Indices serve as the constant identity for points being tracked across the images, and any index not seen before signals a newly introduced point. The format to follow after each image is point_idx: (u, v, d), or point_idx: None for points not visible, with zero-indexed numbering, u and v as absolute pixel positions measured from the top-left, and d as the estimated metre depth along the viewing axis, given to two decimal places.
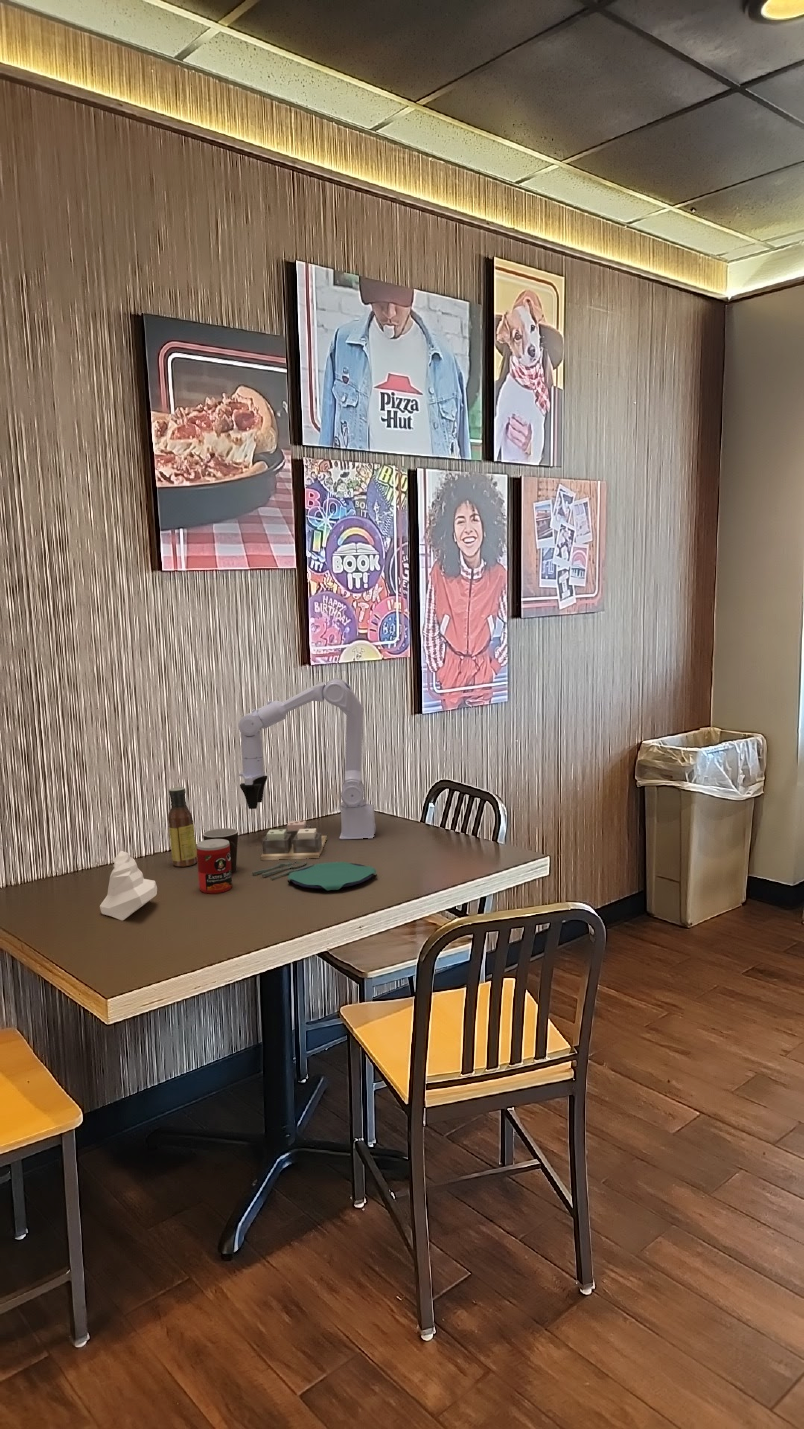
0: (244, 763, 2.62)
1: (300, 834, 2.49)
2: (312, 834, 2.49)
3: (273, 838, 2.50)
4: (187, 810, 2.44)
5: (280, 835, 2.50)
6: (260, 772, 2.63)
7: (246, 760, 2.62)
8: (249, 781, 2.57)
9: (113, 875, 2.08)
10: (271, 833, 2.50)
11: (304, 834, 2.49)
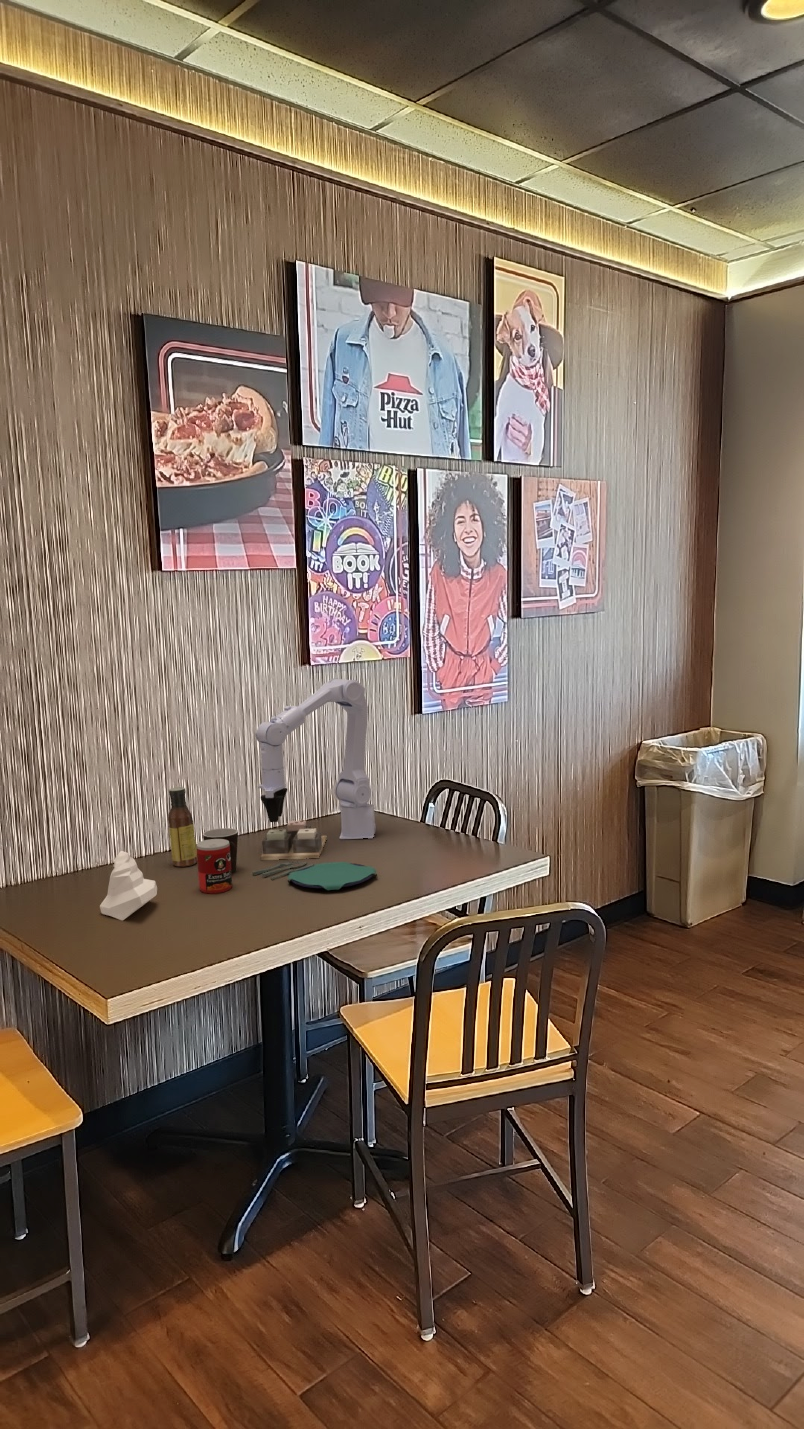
0: (264, 774, 2.48)
1: (300, 834, 2.49)
2: (312, 834, 2.49)
3: (273, 838, 2.50)
4: (187, 810, 2.44)
5: (280, 835, 2.50)
6: (281, 784, 2.48)
7: (266, 771, 2.47)
8: (270, 794, 2.43)
9: (113, 875, 2.08)
10: (271, 833, 2.50)
11: (304, 834, 2.49)
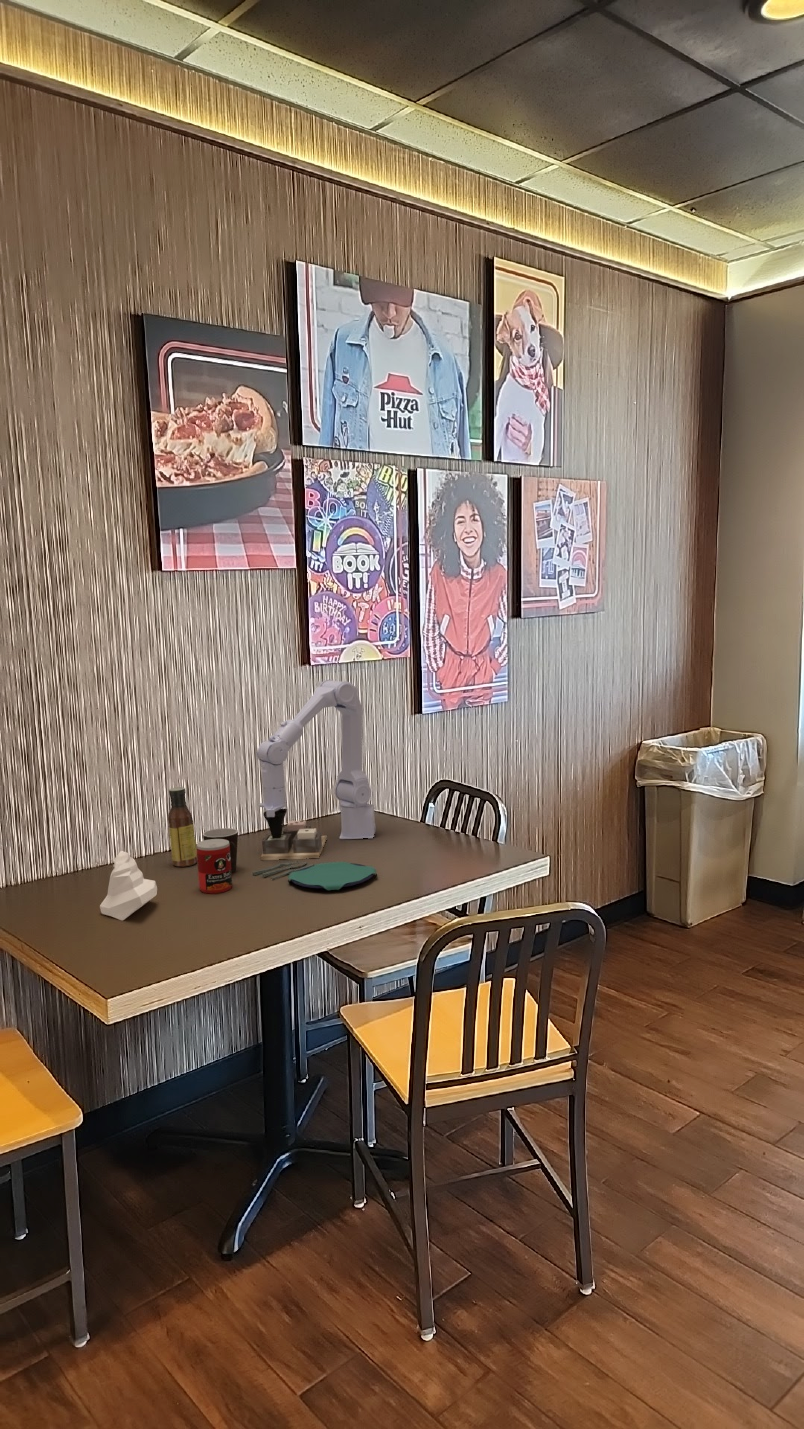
0: (265, 793, 2.48)
1: (300, 834, 2.49)
2: (312, 834, 2.49)
3: None
4: (187, 810, 2.44)
5: None
6: (282, 803, 2.49)
7: (267, 790, 2.48)
8: (271, 813, 2.44)
9: (113, 875, 2.08)
10: (271, 839, 2.50)
11: (304, 834, 2.49)
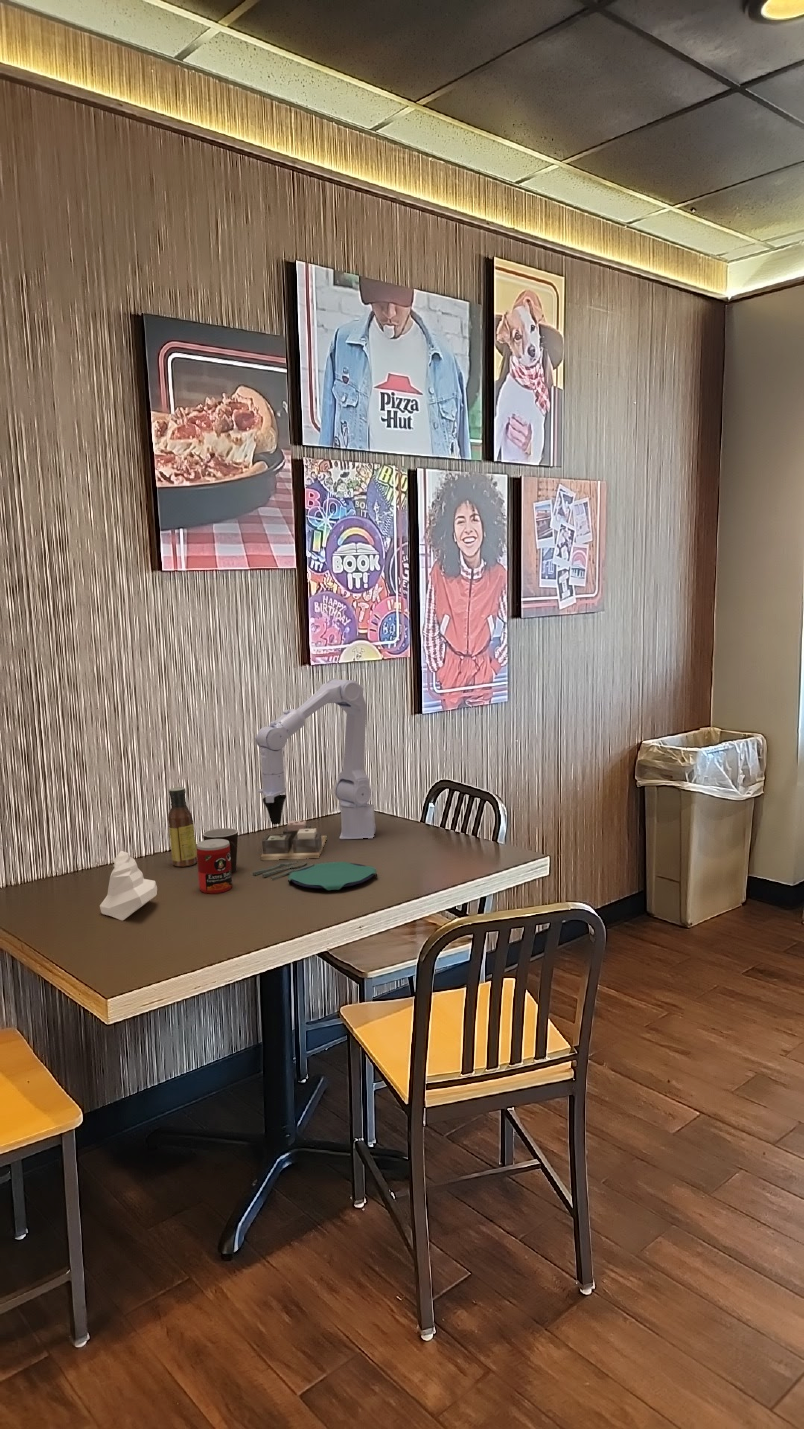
0: (264, 779, 2.48)
1: (300, 834, 2.49)
2: (312, 834, 2.49)
3: None
4: (187, 810, 2.44)
5: None
6: (281, 789, 2.48)
7: (267, 776, 2.47)
8: (270, 799, 2.43)
9: (113, 875, 2.08)
10: (271, 839, 2.50)
11: (304, 834, 2.49)
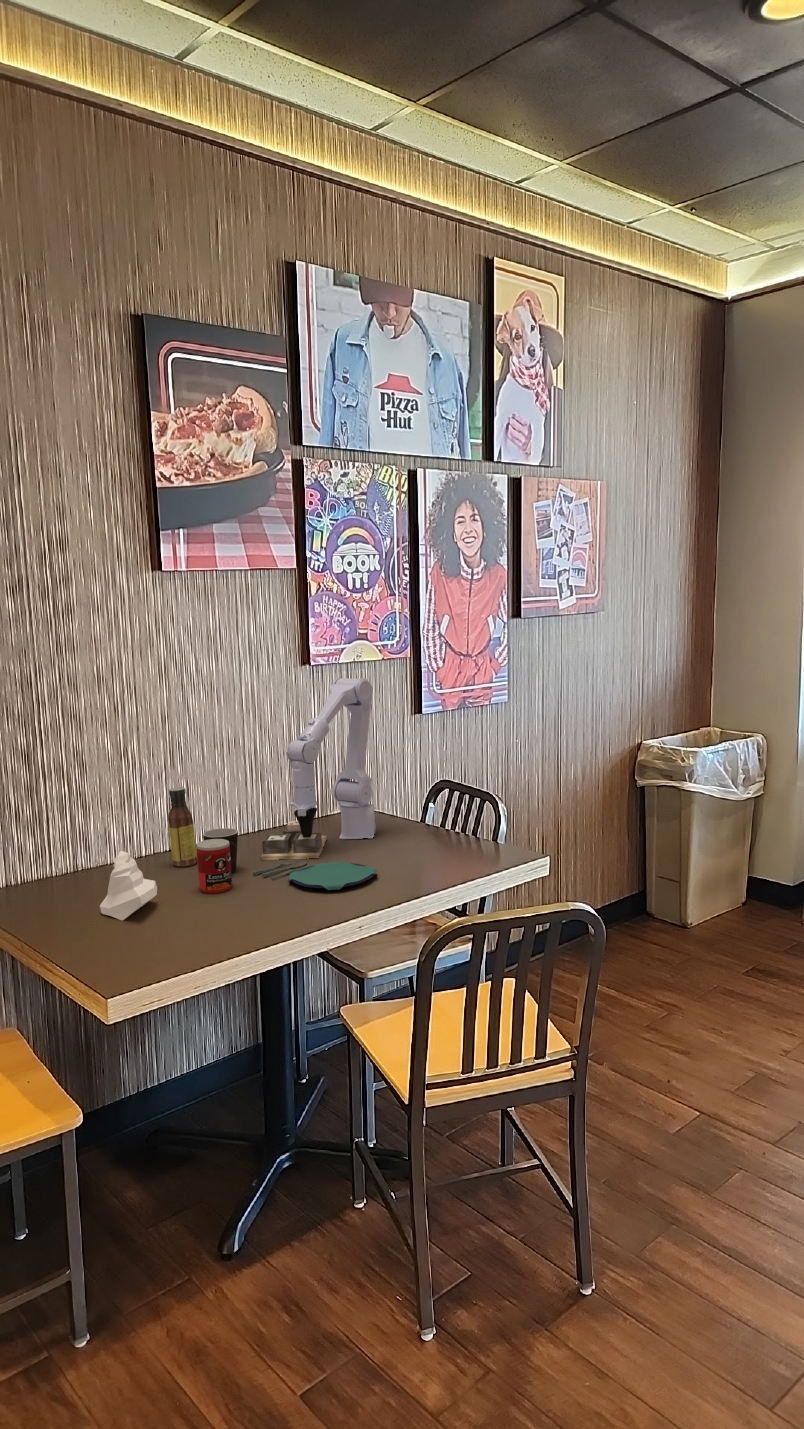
0: (296, 792, 2.48)
1: None
2: None
3: None
4: (187, 810, 2.44)
5: None
6: (313, 802, 2.49)
7: (298, 789, 2.47)
8: (302, 812, 2.43)
9: (113, 875, 2.08)
10: (271, 839, 2.50)
11: None
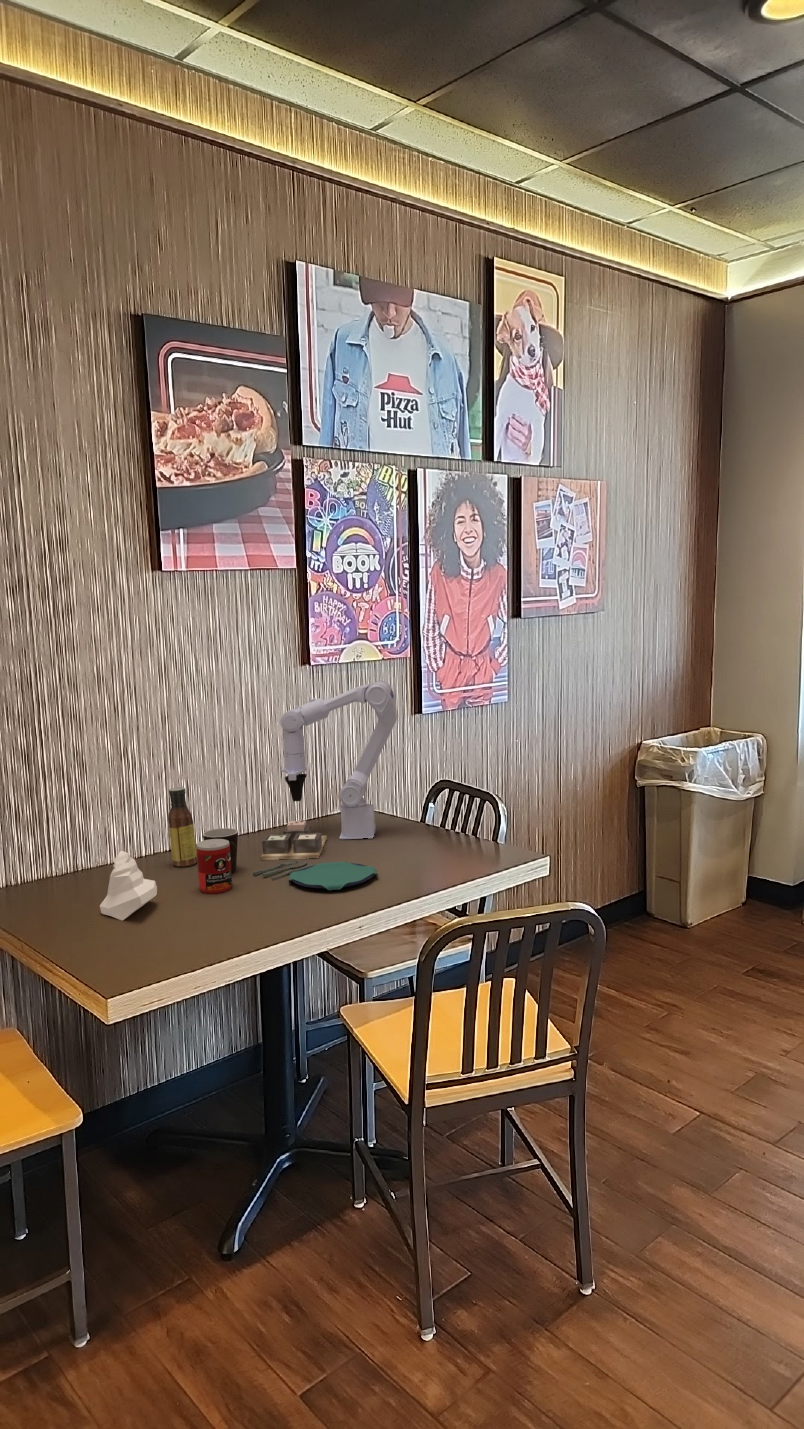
0: (287, 759, 2.64)
1: None
2: None
3: None
4: (187, 810, 2.44)
5: None
6: (302, 768, 2.65)
7: (289, 756, 2.63)
8: (293, 776, 2.59)
9: (113, 875, 2.08)
10: (271, 839, 2.50)
11: None
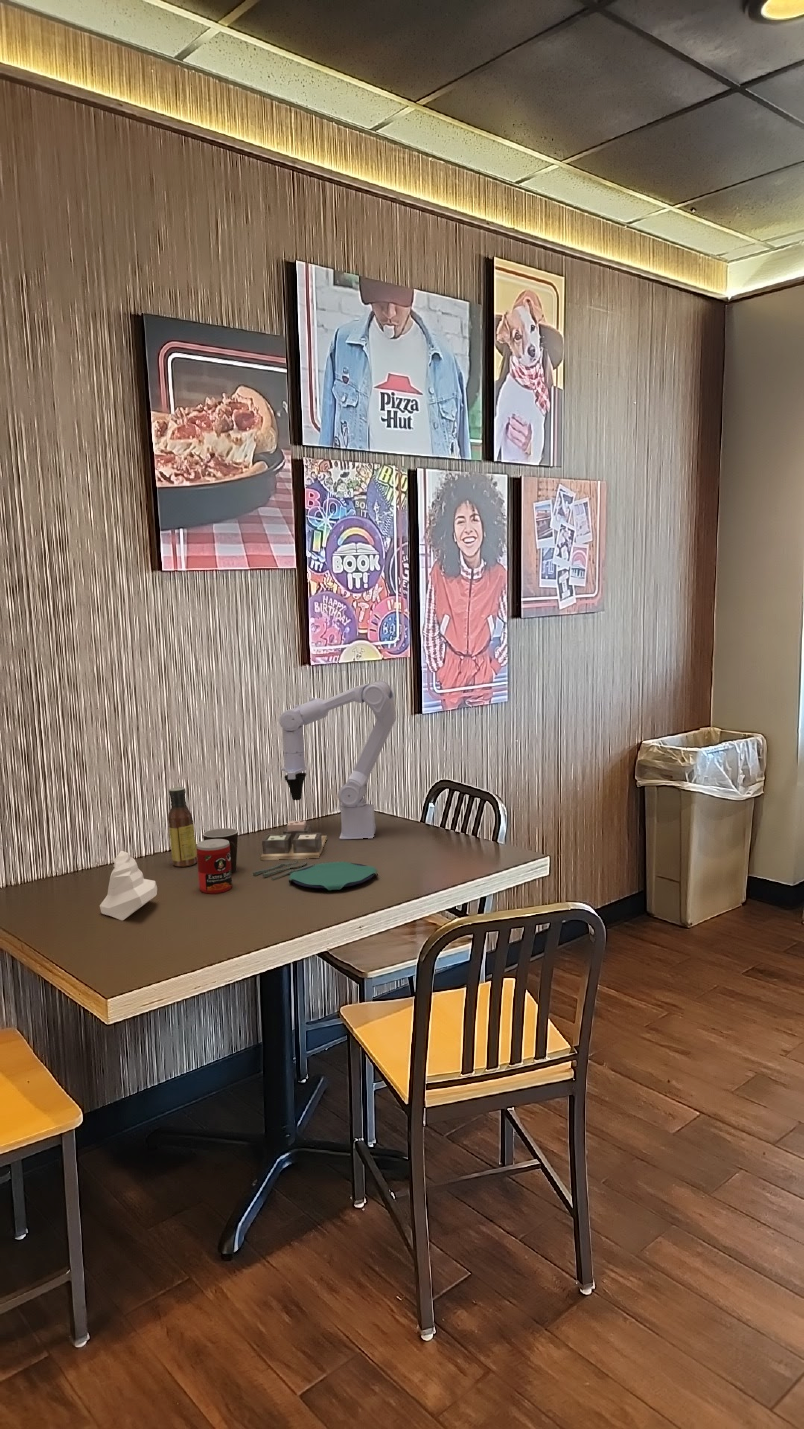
0: (286, 758, 2.65)
1: None
2: None
3: None
4: (187, 810, 2.44)
5: None
6: (302, 767, 2.66)
7: (288, 755, 2.65)
8: (292, 775, 2.61)
9: (113, 875, 2.08)
10: (271, 839, 2.50)
11: None
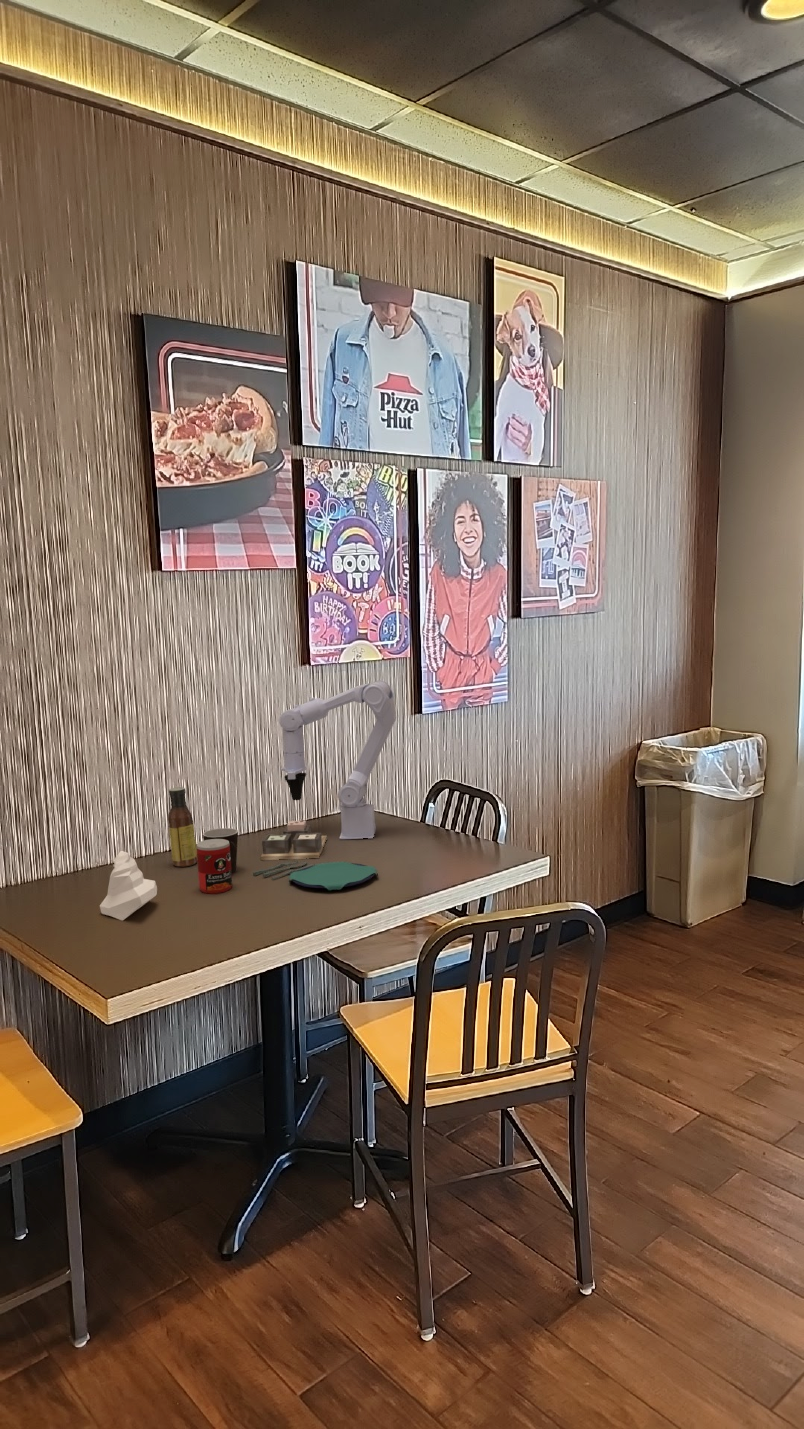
0: (286, 758, 2.65)
1: None
2: None
3: None
4: (187, 810, 2.44)
5: None
6: (302, 767, 2.66)
7: (288, 755, 2.65)
8: (292, 775, 2.61)
9: (113, 875, 2.08)
10: (271, 839, 2.50)
11: None
